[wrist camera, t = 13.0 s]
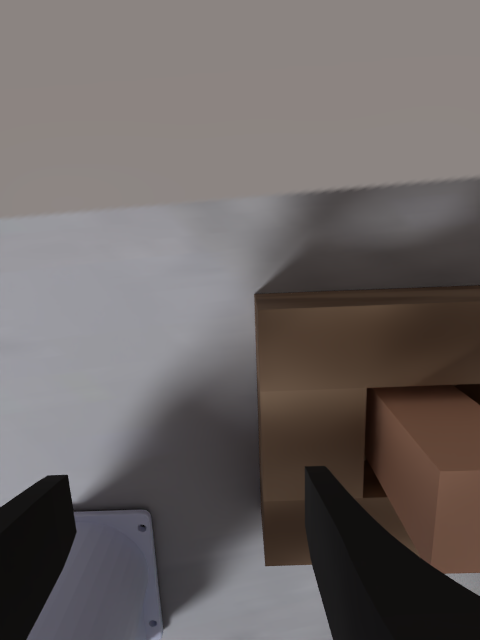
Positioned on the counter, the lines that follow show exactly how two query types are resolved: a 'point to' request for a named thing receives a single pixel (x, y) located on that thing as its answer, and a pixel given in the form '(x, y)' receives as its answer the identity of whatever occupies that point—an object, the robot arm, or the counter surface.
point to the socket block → (347, 390)
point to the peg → (429, 468)
